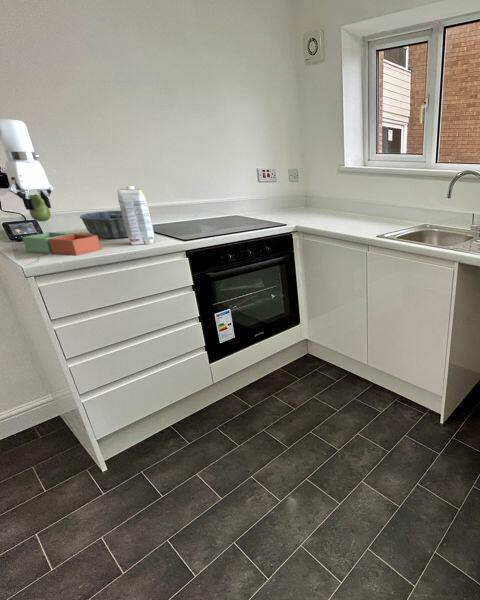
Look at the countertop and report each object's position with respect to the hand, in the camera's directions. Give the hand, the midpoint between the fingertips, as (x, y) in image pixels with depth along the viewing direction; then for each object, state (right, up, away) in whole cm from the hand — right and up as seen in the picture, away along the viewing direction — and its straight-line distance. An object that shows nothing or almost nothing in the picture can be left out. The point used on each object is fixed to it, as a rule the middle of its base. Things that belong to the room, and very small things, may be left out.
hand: (38, 208), depth 133 cm
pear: (0, -5, +2) cm, 5 cm away
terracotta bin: (+10, -16, +5) cm, 19 cm away
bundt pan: (+3, -4, +35) cm, 36 cm away
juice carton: (+24, -10, +22) cm, 34 cm away
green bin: (-2, -15, +7) cm, 16 cm away
